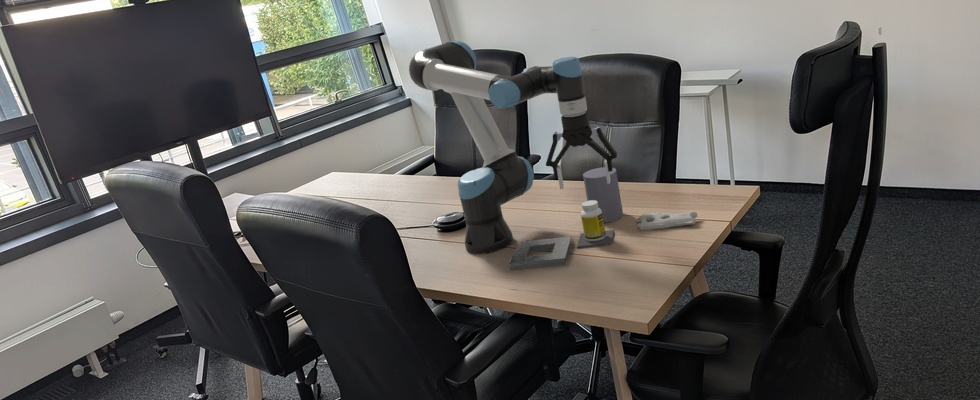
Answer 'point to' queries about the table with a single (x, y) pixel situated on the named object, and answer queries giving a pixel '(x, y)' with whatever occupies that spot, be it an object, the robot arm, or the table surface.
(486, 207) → the robot arm
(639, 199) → the table surface
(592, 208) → the pill bottle
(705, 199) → the table surface
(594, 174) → the container
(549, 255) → the housing plate
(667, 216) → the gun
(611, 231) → the rubber mat
